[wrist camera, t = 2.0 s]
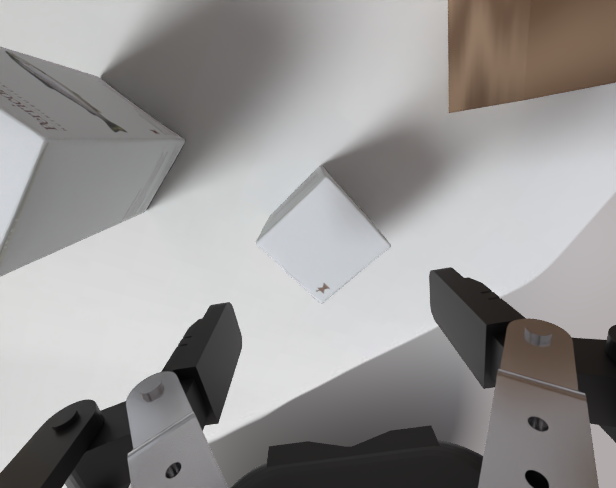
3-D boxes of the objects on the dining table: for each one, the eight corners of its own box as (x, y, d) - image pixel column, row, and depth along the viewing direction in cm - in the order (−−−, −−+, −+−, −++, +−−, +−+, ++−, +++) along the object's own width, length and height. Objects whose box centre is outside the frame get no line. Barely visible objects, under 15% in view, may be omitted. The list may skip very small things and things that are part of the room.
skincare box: (369, 217, 24) (395, 248, 17) (317, 262, 26) (321, 307, 19) (320, 162, 23) (327, 173, 16) (267, 214, 24) (252, 244, 17)
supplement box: (189, 139, 22) (53, 142, 10) (145, 214, 24) (-12, 288, 12) (98, 72, 20) (-191, -20, 8) (59, 157, 22) (-219, 180, 11)
